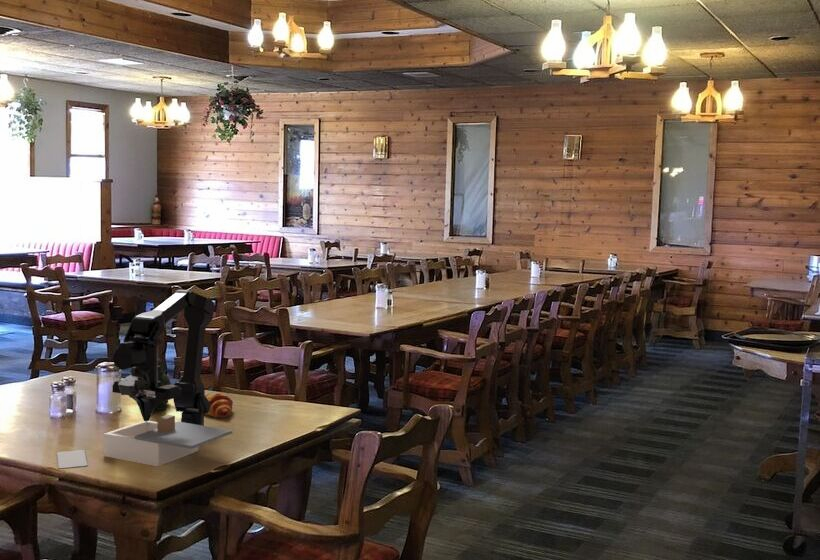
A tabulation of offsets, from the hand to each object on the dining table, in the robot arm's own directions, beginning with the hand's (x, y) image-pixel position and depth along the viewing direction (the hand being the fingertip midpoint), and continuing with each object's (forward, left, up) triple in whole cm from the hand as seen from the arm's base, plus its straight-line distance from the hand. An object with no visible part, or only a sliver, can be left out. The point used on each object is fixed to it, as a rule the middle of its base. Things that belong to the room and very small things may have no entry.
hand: (146, 421), depth 229 cm
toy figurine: (-40, -31, -9) cm, 51 cm away
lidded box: (0, +2, -8) cm, 9 cm away
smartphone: (+14, -12, -9) cm, 21 cm away
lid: (0, +13, -2) cm, 13 cm away
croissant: (-45, -11, -9) cm, 47 cm away
